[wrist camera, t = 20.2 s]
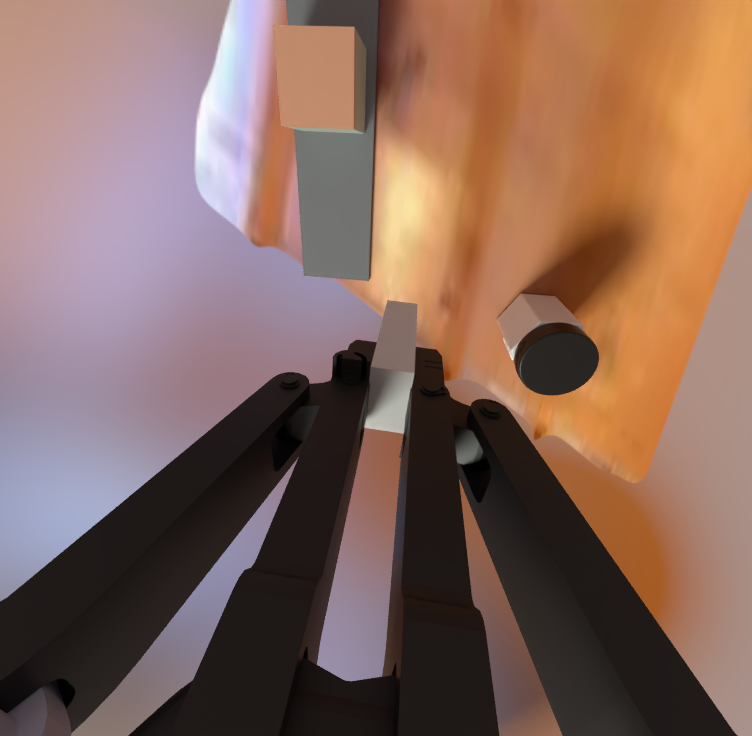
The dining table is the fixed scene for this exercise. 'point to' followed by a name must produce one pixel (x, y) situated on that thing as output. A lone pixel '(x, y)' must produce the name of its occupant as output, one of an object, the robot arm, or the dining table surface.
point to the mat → (338, 159)
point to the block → (321, 78)
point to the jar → (547, 344)
